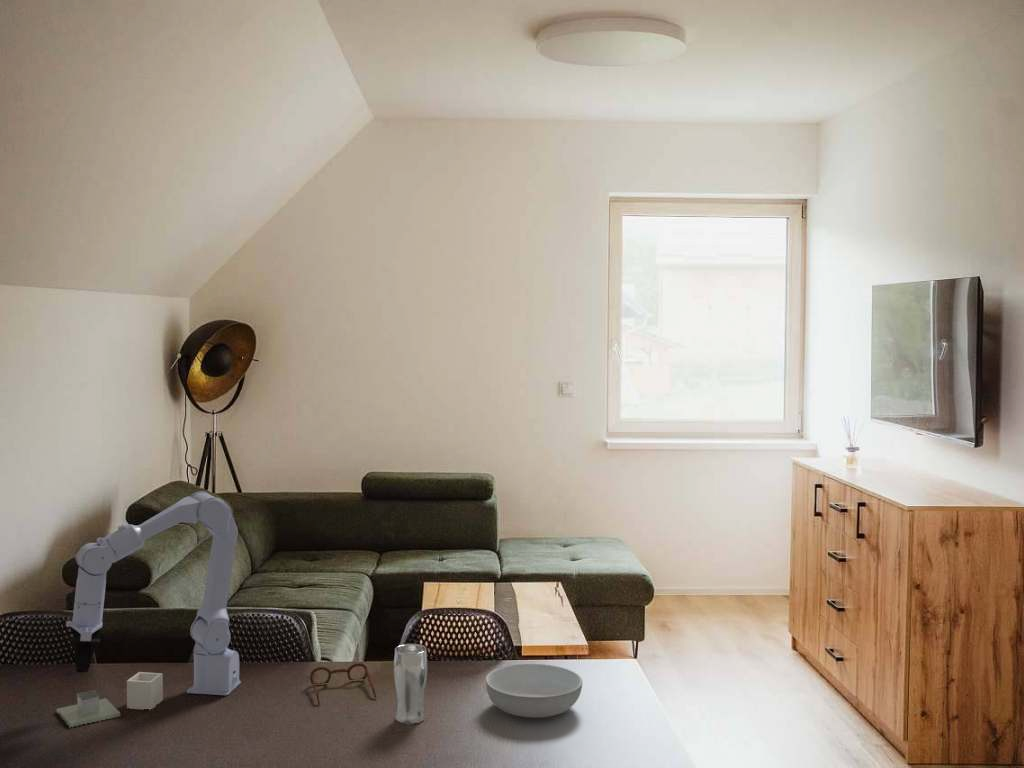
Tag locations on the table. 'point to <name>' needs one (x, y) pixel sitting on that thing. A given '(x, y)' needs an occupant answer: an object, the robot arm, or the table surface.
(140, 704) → the sleeve
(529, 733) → the table surface
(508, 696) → the serving bowl
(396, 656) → the beer glass
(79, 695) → the duct stub
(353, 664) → the glasses
